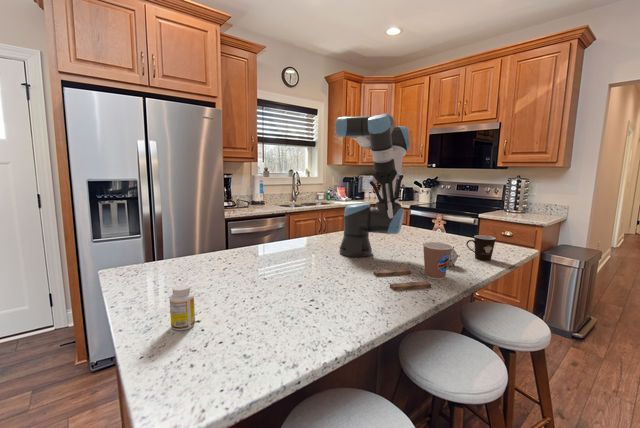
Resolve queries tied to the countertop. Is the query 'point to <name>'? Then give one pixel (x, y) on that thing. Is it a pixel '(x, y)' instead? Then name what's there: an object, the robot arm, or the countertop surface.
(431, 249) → the coffee cup
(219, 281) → the countertop surface
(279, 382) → the countertop surface
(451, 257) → the game die
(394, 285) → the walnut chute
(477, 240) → the coffee mug
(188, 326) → the supplement bottle
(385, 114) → the robot arm
